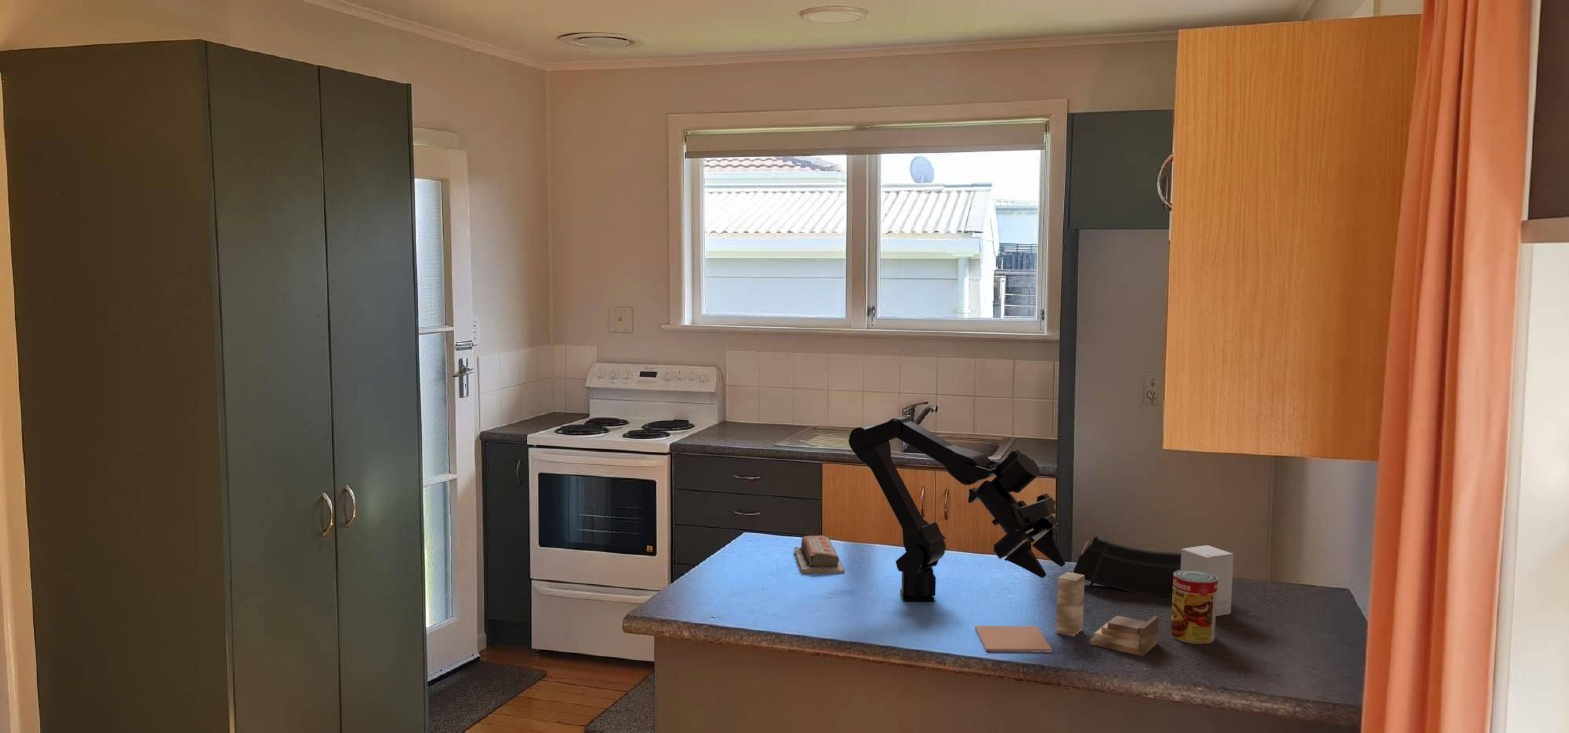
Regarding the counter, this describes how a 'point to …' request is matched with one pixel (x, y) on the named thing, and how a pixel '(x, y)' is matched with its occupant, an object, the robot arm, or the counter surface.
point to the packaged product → (817, 556)
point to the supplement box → (1212, 571)
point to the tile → (1012, 638)
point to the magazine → (1128, 567)
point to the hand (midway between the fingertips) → (1054, 571)
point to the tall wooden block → (1070, 603)
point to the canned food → (1194, 606)
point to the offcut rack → (1127, 635)
